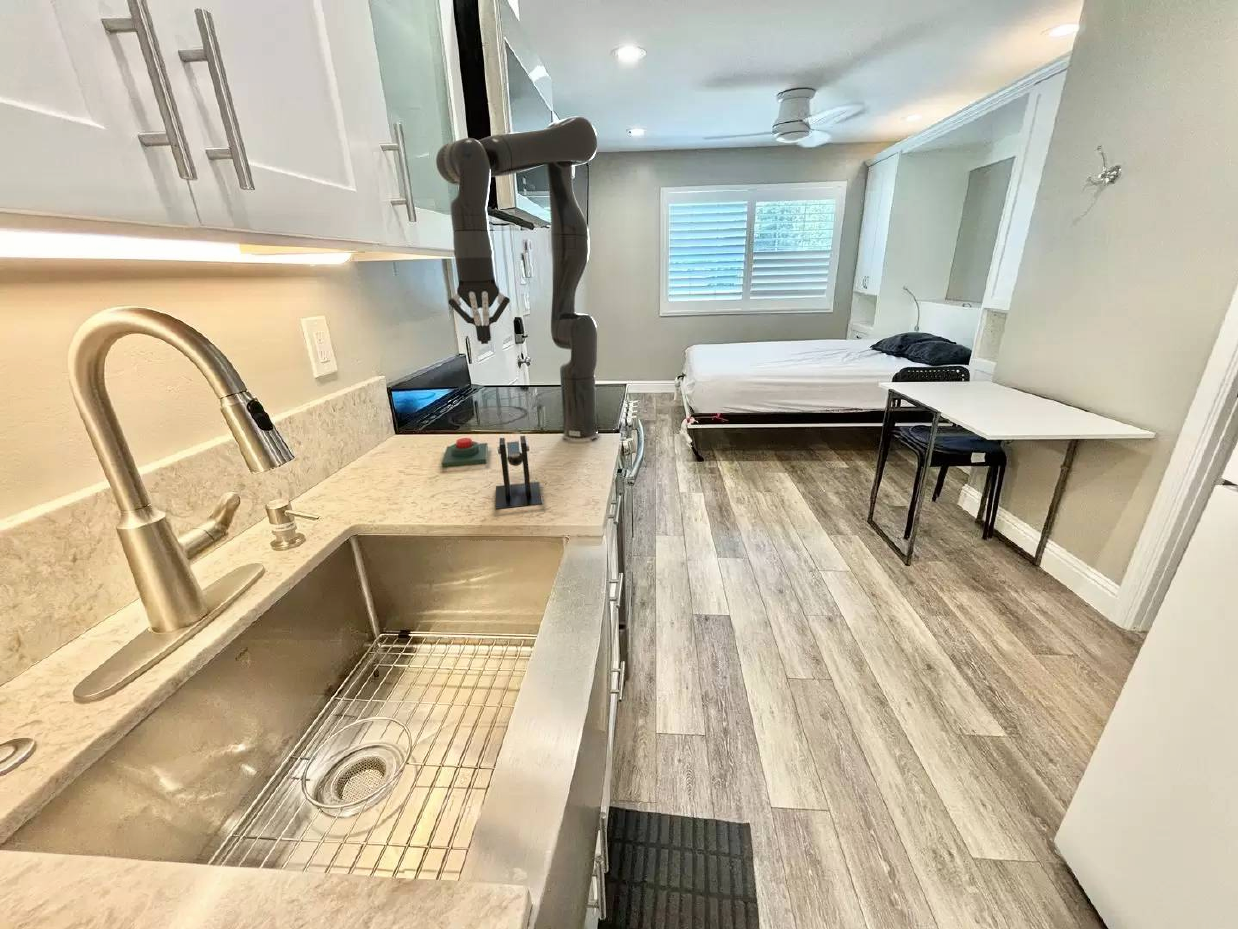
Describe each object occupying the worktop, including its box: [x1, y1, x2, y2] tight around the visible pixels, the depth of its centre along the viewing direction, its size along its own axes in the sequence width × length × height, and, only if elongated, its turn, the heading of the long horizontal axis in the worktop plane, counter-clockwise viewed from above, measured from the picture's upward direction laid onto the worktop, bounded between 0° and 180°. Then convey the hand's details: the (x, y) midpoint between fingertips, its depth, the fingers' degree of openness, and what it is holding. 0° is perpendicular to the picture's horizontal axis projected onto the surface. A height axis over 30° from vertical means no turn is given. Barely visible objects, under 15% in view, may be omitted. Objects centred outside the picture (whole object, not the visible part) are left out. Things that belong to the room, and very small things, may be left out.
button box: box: [441, 440, 489, 469], centre depth 121 cm, size 12×10×4 cm
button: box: [455, 437, 473, 449], centre depth 120 cm, size 4×4×2 cm
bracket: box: [494, 435, 543, 511], centre depth 98 cm, size 11×9×13 cm
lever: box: [506, 440, 523, 467], centre depth 101 cm, size 14×3×3 cm, turn 12°
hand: (484, 343), depth 106 cm, fingers closed
